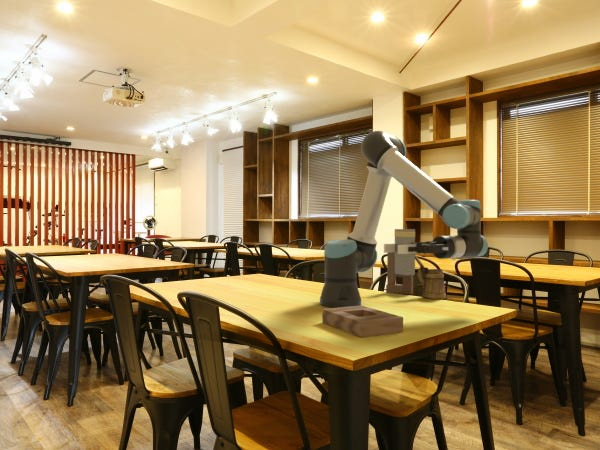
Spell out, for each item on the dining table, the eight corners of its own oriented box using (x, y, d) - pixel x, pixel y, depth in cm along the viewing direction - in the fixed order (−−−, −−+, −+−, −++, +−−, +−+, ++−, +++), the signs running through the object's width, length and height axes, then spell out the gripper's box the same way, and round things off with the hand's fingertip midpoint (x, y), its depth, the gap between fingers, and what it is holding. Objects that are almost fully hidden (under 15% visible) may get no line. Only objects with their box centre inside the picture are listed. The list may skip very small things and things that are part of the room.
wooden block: (411, 294, 190) (411, 251, 190) (386, 293, 194) (386, 250, 194) (413, 293, 193) (413, 251, 193) (388, 291, 198) (388, 250, 198)
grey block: (394, 273, 145) (394, 229, 145) (402, 272, 146) (402, 229, 146) (407, 275, 139) (407, 229, 139) (415, 274, 141) (415, 229, 140)
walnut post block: (322, 322, 137) (322, 309, 137) (361, 318, 143) (361, 305, 143) (360, 337, 119) (360, 322, 119) (403, 331, 125) (403, 317, 125)
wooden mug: (412, 294, 190) (412, 251, 190) (446, 296, 186) (446, 252, 186) (410, 298, 182) (410, 252, 182) (446, 299, 177) (446, 253, 177)
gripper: (470, 260, 142) (412, 263, 132) (427, 256, 159) (372, 258, 149) (470, 236, 142) (412, 237, 132) (427, 234, 159) (373, 235, 149)
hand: (391, 248), depth 140 cm, fingers closed on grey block, 6 cm apart
